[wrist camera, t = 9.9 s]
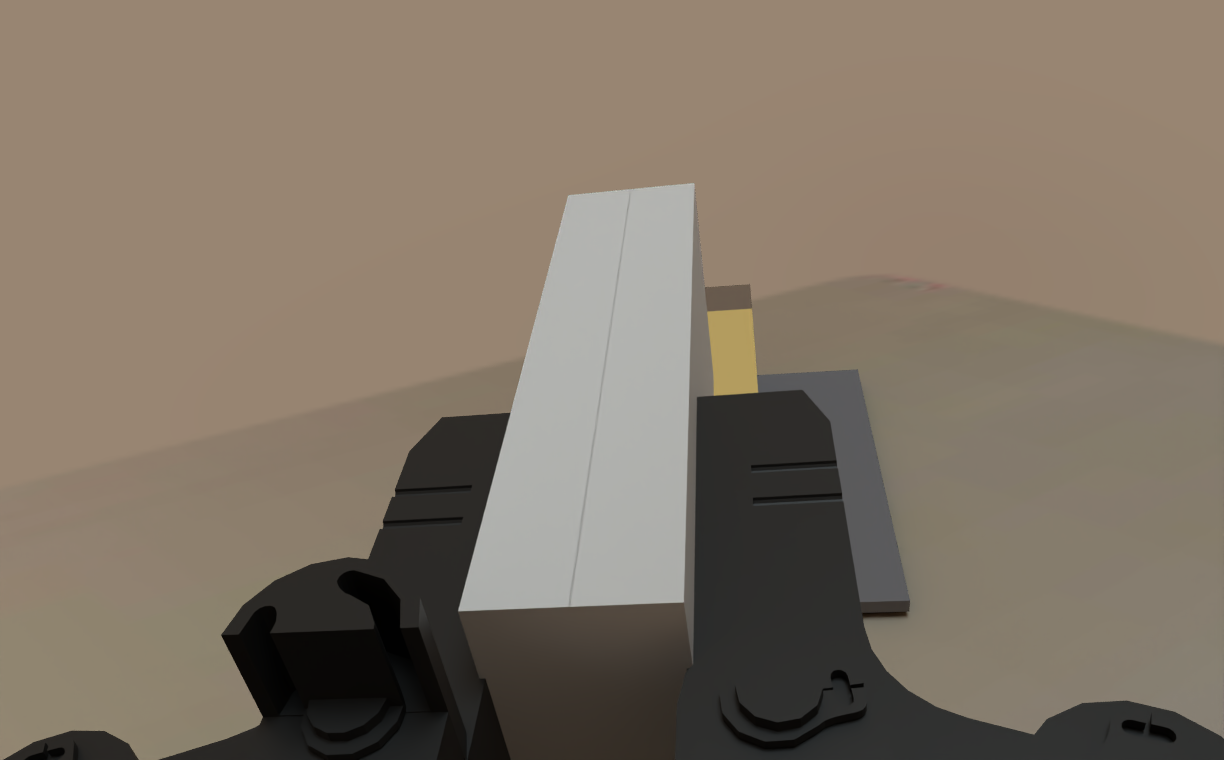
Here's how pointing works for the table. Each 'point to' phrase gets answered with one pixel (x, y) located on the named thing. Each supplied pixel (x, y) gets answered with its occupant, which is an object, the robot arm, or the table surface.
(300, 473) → the table surface
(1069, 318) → the table surface
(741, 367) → the ochre post
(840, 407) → the charcoal mat
